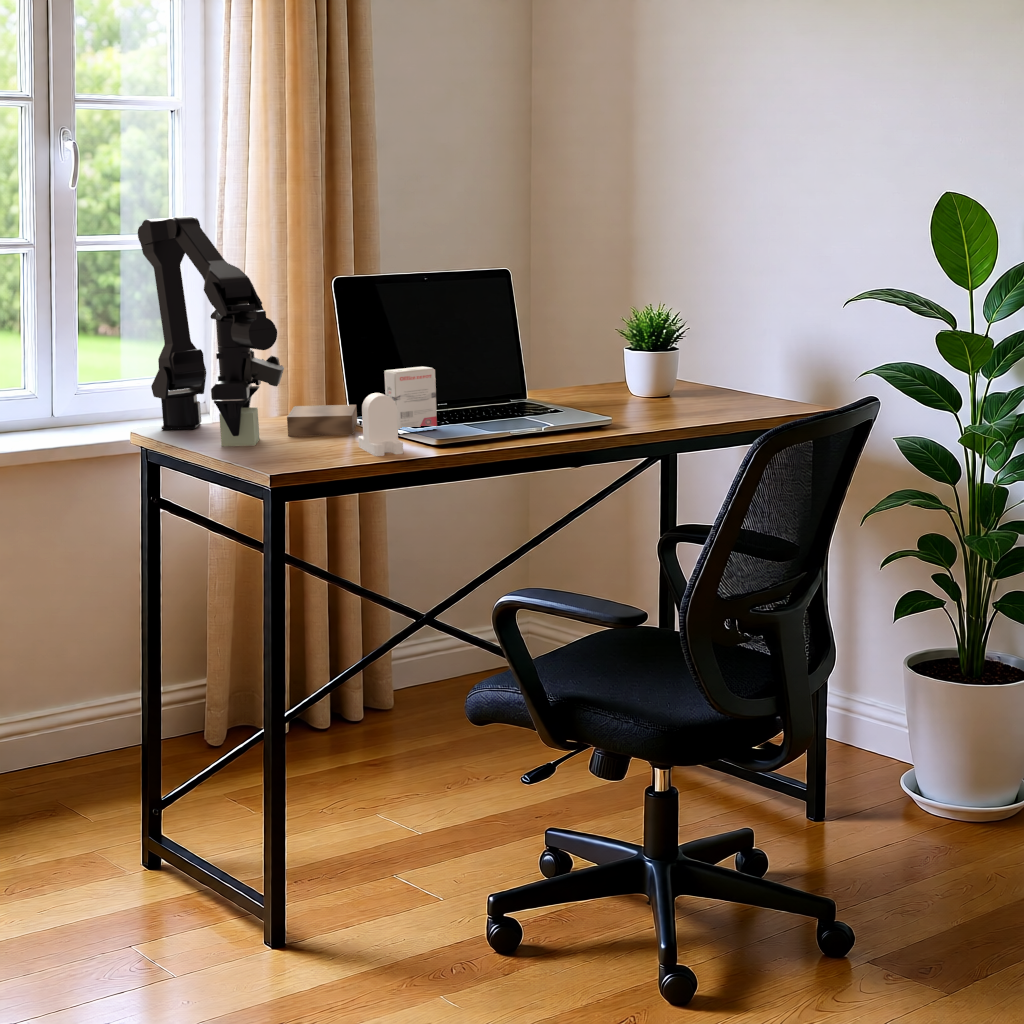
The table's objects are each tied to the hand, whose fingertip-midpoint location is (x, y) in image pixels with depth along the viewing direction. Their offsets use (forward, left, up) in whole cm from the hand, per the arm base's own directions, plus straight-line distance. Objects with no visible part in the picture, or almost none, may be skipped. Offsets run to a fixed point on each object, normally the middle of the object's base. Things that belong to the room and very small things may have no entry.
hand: (239, 431), depth 253 cm
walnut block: (+14, +11, -2) cm, 18 cm away
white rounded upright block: (+26, -10, -2) cm, 28 cm away
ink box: (+31, +7, -2) cm, 32 cm away
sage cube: (0, 0, -2) cm, 2 cm away
